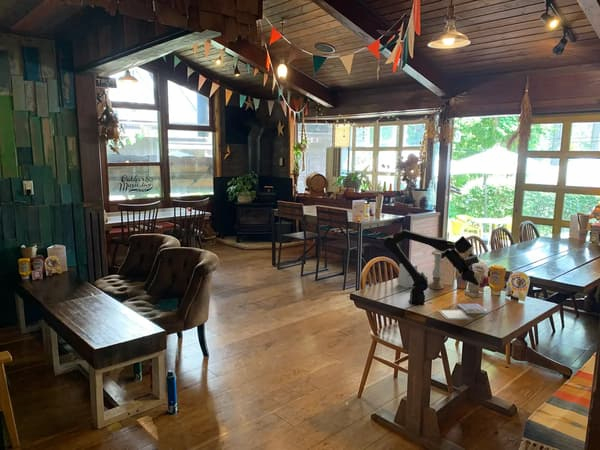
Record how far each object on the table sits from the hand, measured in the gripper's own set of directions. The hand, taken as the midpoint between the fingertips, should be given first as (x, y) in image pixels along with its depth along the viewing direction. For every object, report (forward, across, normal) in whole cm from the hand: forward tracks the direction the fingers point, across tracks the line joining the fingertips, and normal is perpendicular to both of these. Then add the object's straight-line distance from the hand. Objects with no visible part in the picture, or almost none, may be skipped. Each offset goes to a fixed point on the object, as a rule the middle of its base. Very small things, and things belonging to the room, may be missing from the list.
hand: (477, 283), depth 213 cm
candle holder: (-3, +32, +22) cm, 39 cm away
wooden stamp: (+4, 0, +6) cm, 7 cm away
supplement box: (-14, +30, +34) cm, 47 cm away
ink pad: (+9, 0, +10) cm, 13 cm away
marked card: (+2, -10, +17) cm, 20 cm away
